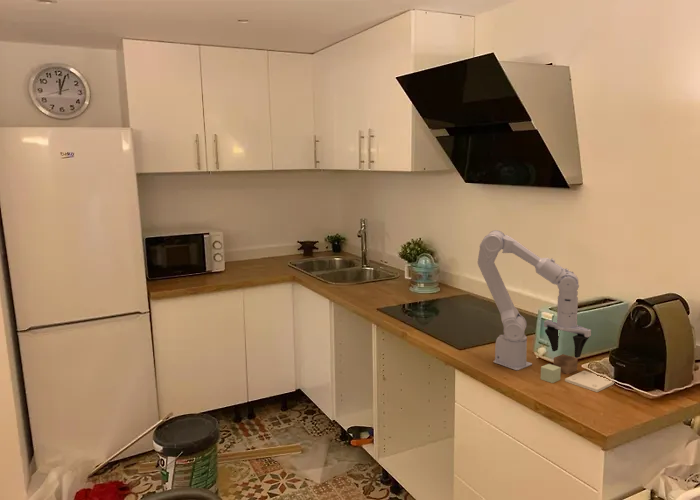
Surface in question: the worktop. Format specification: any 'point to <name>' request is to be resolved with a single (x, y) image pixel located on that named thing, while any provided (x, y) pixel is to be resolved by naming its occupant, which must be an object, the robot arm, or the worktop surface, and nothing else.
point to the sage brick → (550, 373)
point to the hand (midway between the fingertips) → (566, 353)
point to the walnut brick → (566, 363)
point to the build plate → (589, 381)
